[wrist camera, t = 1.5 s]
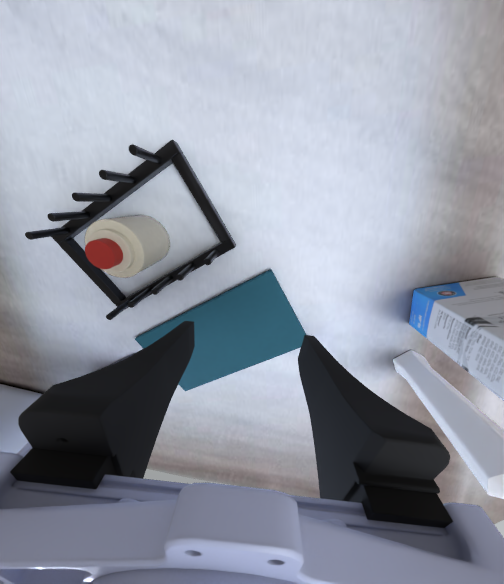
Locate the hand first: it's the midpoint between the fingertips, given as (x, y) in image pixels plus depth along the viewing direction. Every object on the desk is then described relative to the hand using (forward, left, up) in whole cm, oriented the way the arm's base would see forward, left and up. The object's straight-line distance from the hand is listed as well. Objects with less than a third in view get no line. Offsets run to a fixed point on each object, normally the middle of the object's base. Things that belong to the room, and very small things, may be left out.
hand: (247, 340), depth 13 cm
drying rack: (-8, +10, -10) cm, 16 cm away
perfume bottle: (+12, -19, -10) cm, 25 cm away
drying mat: (-8, -5, -10) cm, 14 cm away
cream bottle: (-8, +10, -10) cm, 16 cm away
